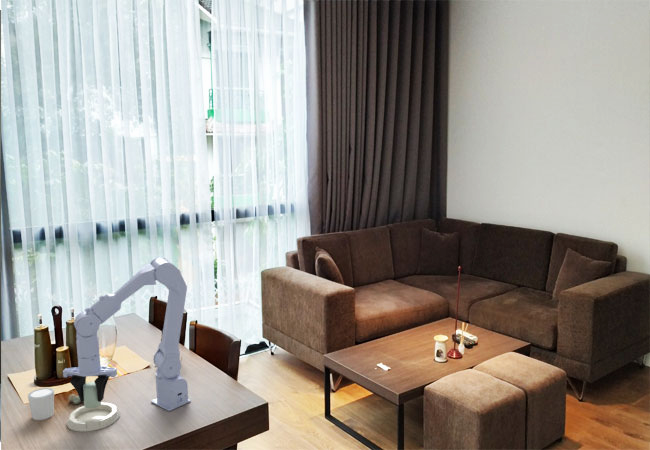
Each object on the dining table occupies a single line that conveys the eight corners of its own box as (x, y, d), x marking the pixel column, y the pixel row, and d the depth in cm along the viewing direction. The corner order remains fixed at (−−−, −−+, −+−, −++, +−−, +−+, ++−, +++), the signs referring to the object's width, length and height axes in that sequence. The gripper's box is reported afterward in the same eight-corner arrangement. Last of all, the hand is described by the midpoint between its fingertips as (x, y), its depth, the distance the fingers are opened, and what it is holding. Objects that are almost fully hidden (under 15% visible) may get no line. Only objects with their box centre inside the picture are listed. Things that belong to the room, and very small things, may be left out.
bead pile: (92, 401, 171) (91, 394, 170) (76, 408, 167) (76, 400, 167) (82, 396, 174) (81, 389, 174) (66, 402, 171) (66, 394, 170)
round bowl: (129, 417, 161) (128, 410, 161) (82, 437, 150) (82, 430, 150) (103, 403, 170) (103, 396, 170) (58, 421, 159) (57, 414, 159)
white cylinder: (49, 407, 168) (47, 385, 166) (60, 414, 163) (58, 391, 162) (25, 416, 162) (23, 393, 161) (36, 423, 158) (34, 400, 157)
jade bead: (103, 401, 161) (102, 381, 161) (96, 408, 157) (94, 388, 156) (89, 401, 162) (88, 381, 161) (81, 408, 158) (79, 387, 157)
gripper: (119, 349, 161) (122, 393, 163) (69, 349, 161) (73, 393, 163) (109, 358, 154) (113, 405, 156) (57, 358, 154) (61, 405, 156)
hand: (92, 400), depth 159 cm, fingers closed on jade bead, 4 cm apart
